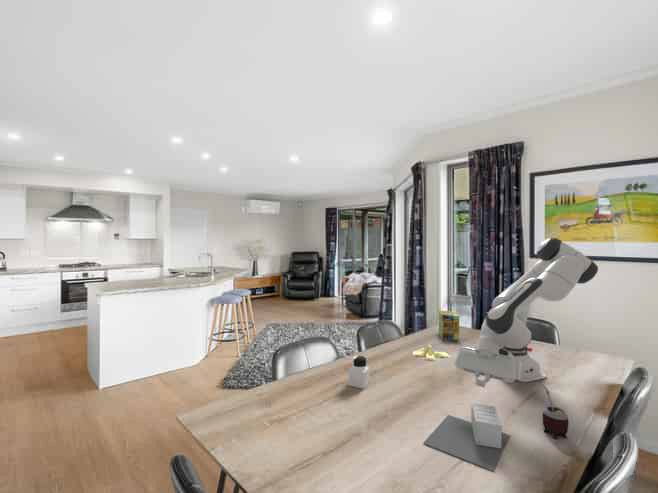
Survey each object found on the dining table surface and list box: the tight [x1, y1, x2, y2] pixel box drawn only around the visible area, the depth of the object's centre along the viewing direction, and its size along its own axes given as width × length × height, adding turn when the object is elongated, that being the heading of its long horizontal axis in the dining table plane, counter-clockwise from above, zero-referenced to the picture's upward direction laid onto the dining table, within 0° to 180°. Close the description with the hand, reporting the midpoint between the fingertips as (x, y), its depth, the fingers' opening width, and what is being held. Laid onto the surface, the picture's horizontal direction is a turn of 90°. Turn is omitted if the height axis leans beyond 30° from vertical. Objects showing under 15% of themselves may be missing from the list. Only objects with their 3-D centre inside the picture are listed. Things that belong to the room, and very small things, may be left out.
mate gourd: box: [539, 381, 569, 440], centre depth 111 cm, size 8×8×15 cm
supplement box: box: [470, 403, 503, 448], centre depth 108 cm, size 7×7×13 cm
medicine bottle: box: [348, 355, 370, 389], centre depth 147 cm, size 7×7×12 cm
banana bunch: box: [411, 344, 451, 362], centre depth 188 cm, size 22×19×6 cm
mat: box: [422, 414, 511, 473], centre depth 107 cm, size 22×20×1 cm
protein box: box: [438, 310, 460, 341], centre depth 224 cm, size 10×15×16 cm
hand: (479, 385), depth 122 cm, fingers closed
